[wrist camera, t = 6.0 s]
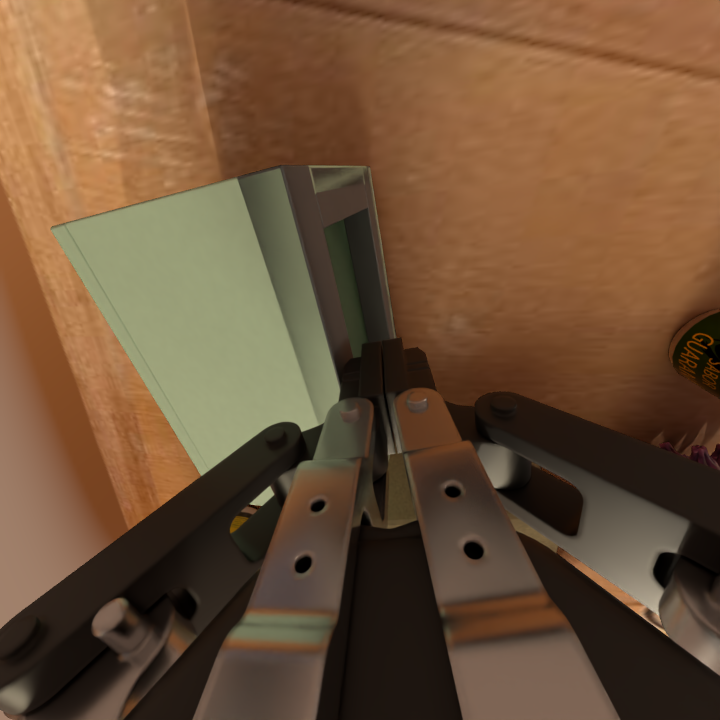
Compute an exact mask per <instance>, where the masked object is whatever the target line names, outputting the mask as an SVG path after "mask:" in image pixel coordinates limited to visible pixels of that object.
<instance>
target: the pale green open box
mask: <svg viewBox="0 0 720 720" xmlns="http://www.w3.org/2000/svg"><path fill="white" fill-rule="evenodd" d="M51 231H52V233H53V234H54V236H55V238H56V239H57V241H58V242H59V244H60V246H61V247H62V249H63V251H64V252H65V254H66V255H67V257H68V259H69V260H70V262H71V264H72V265H73V267H74V269H75V270H76V272H77V273H78V275H79V277H80V278H81V280H82V282H83V283H84V285H85V287H86V288H87V290H88V291H89V293H90V295H91V296H92V298H93V300H94V301H95V303H96V305H97V306H98V308H99V309H100V311H101V313H102V314H103V316H104V318H105V319H106V321H107V322H108V324H109V326H110V327H111V329H112V331H113V332H114V334H115V336H116V337H117V339H118V340H119V342H120V344H121V345H122V347H123V349H124V350H125V352H126V354H127V355H128V357H129V358H130V360H131V362H132V363H133V365H134V367H135V368H136V370H137V372H138V373H139V375H140V376H141V378H142V380H143V381H144V383H145V385H146V386H147V388H148V389H149V391H150V393H151V394H152V396H153V398H154V399H155V401H156V403H157V404H158V406H159V407H160V409H161V411H162V412H163V414H164V416H165V417H166V419H167V421H168V422H169V424H170V425H171V427H172V429H173V430H174V432H175V434H176V435H177V437H178V438H179V440H180V442H181V443H182V445H183V447H184V448H185V450H186V452H187V453H188V455H189V456H190V458H191V460H192V461H193V463H194V465H195V466H196V468H197V470H198V471H199V473H200V474H201V476H202V475H204V474H205V473H206V472H208V471H209V470H210V469H212V468H213V467H214V466H216V465H217V464H218V463H220V462H221V461H222V460H224V459H225V458H226V457H228V456H229V455H230V454H232V453H233V452H234V451H236V450H237V449H238V448H240V447H241V446H242V445H244V444H245V443H246V442H248V441H249V440H250V439H252V438H253V437H254V436H256V435H257V434H258V433H260V432H261V431H262V430H264V429H265V428H267V427H269V426H271V425H273V424H276V423H280V422H293V423H296V424H297V425H298V426H299V427H300V429H301V432H303V431H305V430H308V429H311V428H314V427H316V426H319V425H321V424H323V423H324V422H325V419H326V416H327V413H328V411H329V409H330V408H331V407H332V406H333V405H334V404H336V403H337V402H338V401H339V394H340V388H341V382H342V376H343V369H344V366H345V364H346V363H347V362H348V361H349V360H350V359H351V358H357V357H361V350H362V344H364V343H370V342H376V341H381V343H382V340H387V339H393V338H396V332H395V325H394V319H393V312H392V306H391V299H390V293H389V286H388V280H387V274H386V267H385V261H384V254H383V248H382V241H381V235H380V228H379V222H378V216H377V209H376V203H375V196H374V190H373V183H372V177H371V170H370V166H328V165H279V166H275V167H271V168H268V169H264V170H260V171H257V172H253V173H249V174H245V175H242V176H238V177H234V178H231V179H227V180H223V181H219V182H216V183H212V184H208V185H205V186H201V187H197V188H193V189H190V190H186V191H182V192H178V193H175V194H171V195H167V196H163V197H160V198H156V199H152V200H148V201H145V202H141V203H137V204H134V205H130V206H126V207H122V208H119V209H115V210H111V211H107V212H104V213H100V214H96V215H92V216H89V217H85V218H81V219H78V220H74V221H70V222H67V223H63V224H59V225H56V226H52V227H51ZM382 347H383V346H382ZM389 458H390V455H388V462H389ZM273 495H274V493H273V491H272V489H271V487H270V486H269V487H268V488H267V489H266V490H265V491H263V492H262V493H261V494H260V495H259V496H258V497H257V498H256V499H254V500H253V501H252V502H251V503H250V504H252V505H260V506H263V505H264V504H265V503H266V502H267V501H268V500H269V499H270V498H271V497H272V496H273Z"/></svg>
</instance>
